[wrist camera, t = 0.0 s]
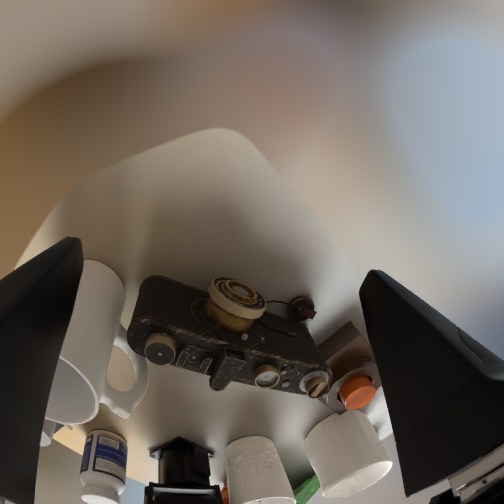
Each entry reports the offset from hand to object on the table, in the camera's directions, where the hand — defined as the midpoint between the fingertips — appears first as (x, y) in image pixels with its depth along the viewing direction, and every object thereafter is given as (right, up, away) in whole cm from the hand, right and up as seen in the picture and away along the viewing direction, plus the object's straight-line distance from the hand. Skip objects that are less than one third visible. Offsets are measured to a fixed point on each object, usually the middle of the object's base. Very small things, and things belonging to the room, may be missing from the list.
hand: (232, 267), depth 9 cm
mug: (-12, -4, +16) cm, 21 cm away
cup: (+12, -25, +29) cm, 40 cm away
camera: (-1, -4, +18) cm, 19 cm away
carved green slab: (+8, -42, +29) cm, 52 cm away
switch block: (+11, -13, +24) cm, 29 cm away
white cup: (0, -26, +27) cm, 38 cm away
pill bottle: (-18, -24, +23) cm, 38 cm away
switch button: (+11, -14, +20) cm, 27 cm away
